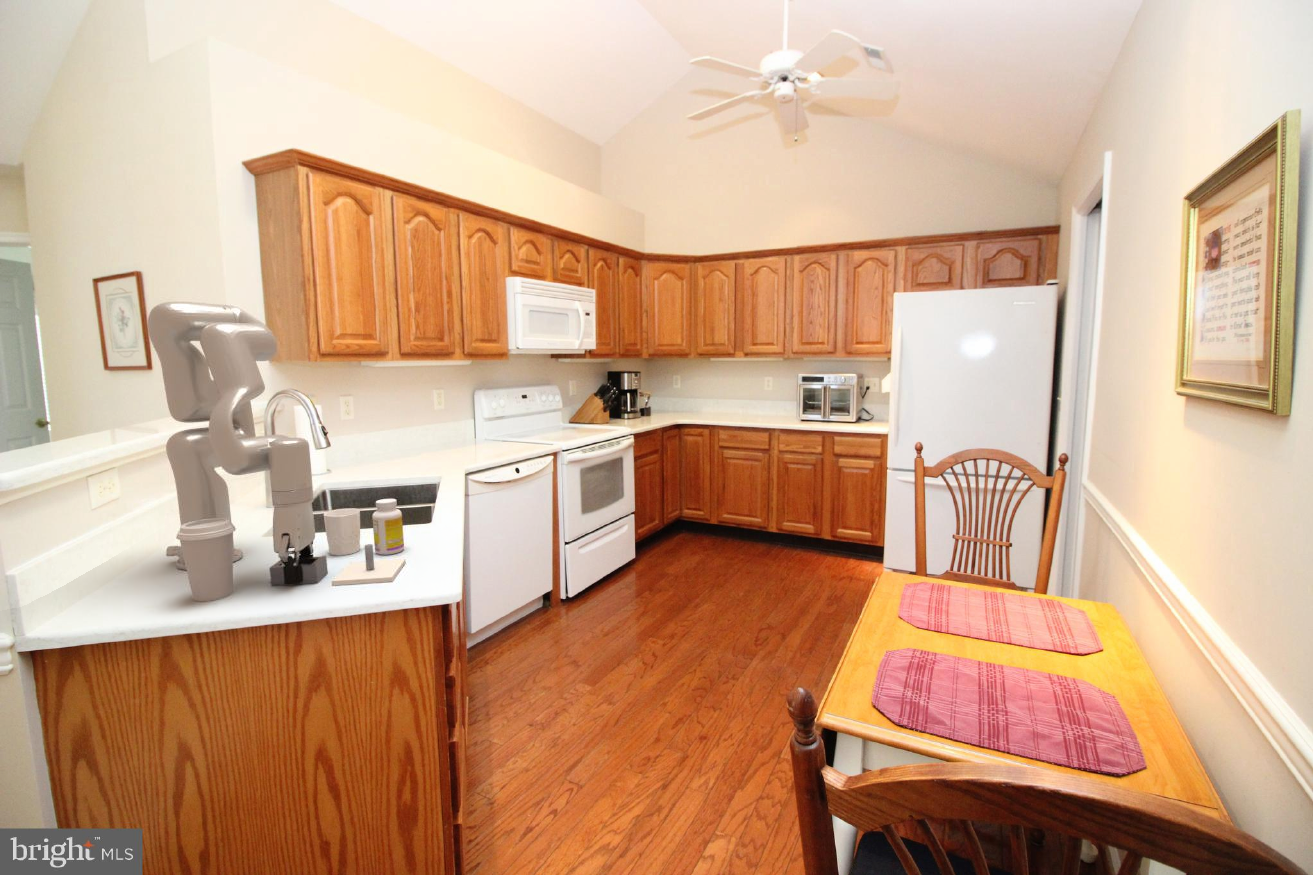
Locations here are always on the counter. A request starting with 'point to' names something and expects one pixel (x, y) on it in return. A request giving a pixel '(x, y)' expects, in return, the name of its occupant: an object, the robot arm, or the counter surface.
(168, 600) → the counter surface
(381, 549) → the supplement bottle
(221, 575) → the coffee cup
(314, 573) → the link
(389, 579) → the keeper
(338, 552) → the white cup
